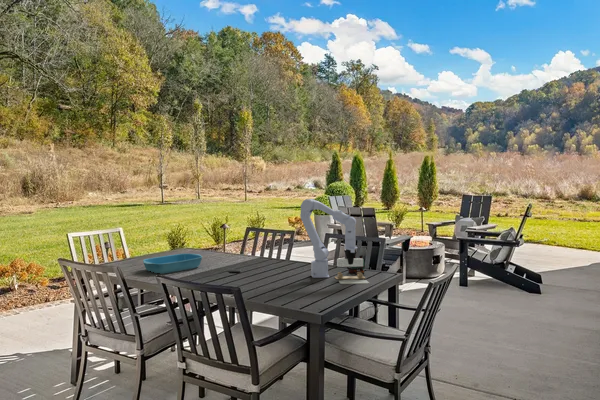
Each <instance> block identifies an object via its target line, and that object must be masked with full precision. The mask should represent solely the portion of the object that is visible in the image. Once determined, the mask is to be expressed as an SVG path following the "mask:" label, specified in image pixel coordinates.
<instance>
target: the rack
mask: <svg viewBox="0 0 600 400" xmlns="http://www.w3.org/2000/svg"><path fill="white" fill-rule="evenodd" d="M343 274H344V273H342V272H340V271H339V272H337V276H334V278H335V280H366V277H365V276H364V274H363V273H361V272H357V274H356V275H348V276H347V275H345V276H344V275H343Z"/></svg>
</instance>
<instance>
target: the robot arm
mask: <svg viewBox="0 0 600 400" xmlns="http://www.w3.org/2000/svg"><path fill="white" fill-rule="evenodd" d="M314 210H320V211H322V212H324V213H326V214H328V215H330V216H332V219H333V220H334V221H336V222H338V223H340V224H342V225H343V226H344V227H345V228H344V229H345V230H344V253H345V258H348V264H353V261H354V257H355V255H356V254H357V251H356V249H358V246H357V245H356V240H357V239H356V232H357V231H356V225H357V219H356V218H355V217H354V216H351V215H350V214H346V213H345V212H343V210H341V209H340V210H339V209H336V210H334V209H333V208H331V207H329V206H328V205H326V204H324V203H323V202H321V201H318V200H315V199H314V198H307V199H304V200H303V201H302V202H301V204H300V214H299V215H300V217H299V218H300V220H301V221H302V224H303V226H304V229H305V231H306V234H307V235H308V238H309V239H310V240H309V241H310V242H311V245H312V251H313V256H314V258H315V259H314V260H311V261H310V262H311V263H310V264H311V265H310V269H311V270H310V275H311V277H312V278H313V279H314V278H315V279H316V278H318V279H319V278H330V275H329V259H328V257H329V255H330V252H329V249H328V248H327V247H326V246H325V244H324V243H323V242H322V241H321V238H320V236H319V234H318V232H317V229H316V227H315V225H314V222H313V221H312V218H311V216H312V213H313V212H314ZM356 256H357V255H356Z"/></svg>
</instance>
